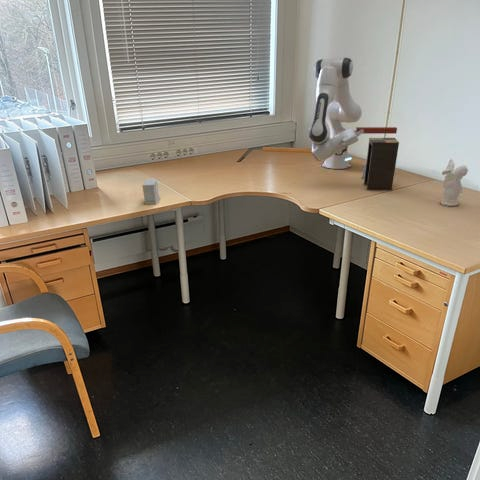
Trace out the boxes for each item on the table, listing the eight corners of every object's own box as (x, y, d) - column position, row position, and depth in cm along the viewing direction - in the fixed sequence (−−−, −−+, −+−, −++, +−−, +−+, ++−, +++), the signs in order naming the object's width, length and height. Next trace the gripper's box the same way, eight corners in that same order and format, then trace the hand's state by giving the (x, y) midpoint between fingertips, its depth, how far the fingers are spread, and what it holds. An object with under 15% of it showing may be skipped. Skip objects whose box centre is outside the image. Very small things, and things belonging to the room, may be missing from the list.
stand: (363, 183, 285) (369, 137, 271) (387, 184, 284) (394, 137, 270) (366, 189, 274) (373, 142, 261) (391, 190, 274) (399, 142, 260)
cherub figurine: (463, 206, 248) (473, 162, 237) (442, 208, 245) (451, 165, 234) (448, 199, 258) (457, 157, 247) (428, 201, 255) (436, 159, 244)
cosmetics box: (148, 198, 267) (145, 179, 262) (159, 198, 267) (157, 179, 262) (144, 204, 258) (141, 184, 253) (156, 204, 258) (154, 184, 253)
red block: (355, 132, 268) (355, 127, 267) (395, 132, 267) (396, 127, 265) (356, 133, 266) (356, 128, 264) (396, 133, 264) (397, 128, 263)
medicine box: (376, 179, 293) (378, 164, 288) (373, 180, 290) (375, 166, 285) (365, 176, 297) (367, 162, 293) (361, 178, 295) (363, 164, 290)
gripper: (339, 141, 260) (363, 127, 256) (335, 133, 277) (358, 121, 273) (344, 151, 263) (368, 138, 258) (340, 143, 280) (362, 131, 276)
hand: (362, 129), depth 266 cm, fingers closed on red block, 3 cm apart
